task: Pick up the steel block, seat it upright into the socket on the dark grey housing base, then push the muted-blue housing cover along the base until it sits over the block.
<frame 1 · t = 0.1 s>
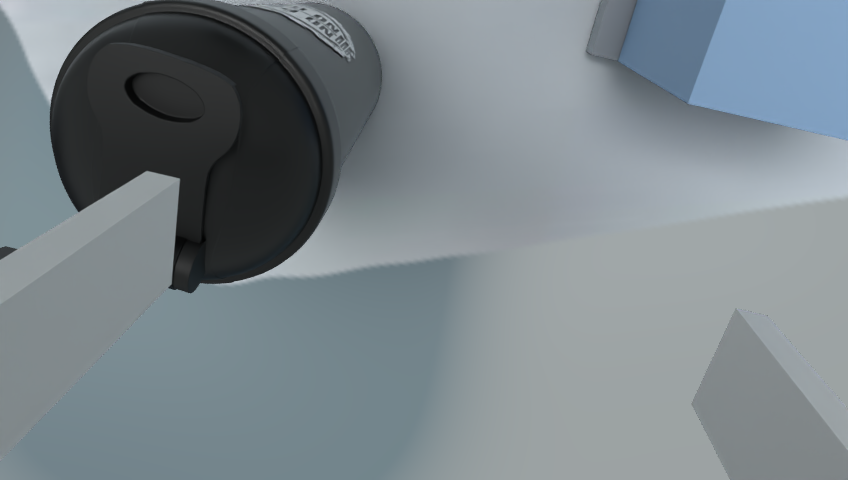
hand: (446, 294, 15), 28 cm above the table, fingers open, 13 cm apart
housing cover: (796, 7, 30), point 9 cm above the table, slide at 0.0 cm
water bottle: (315, 73, 41), on the table
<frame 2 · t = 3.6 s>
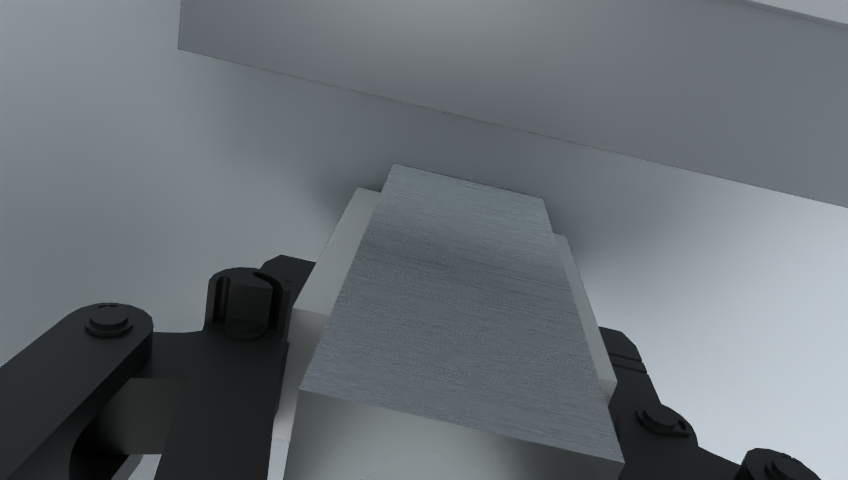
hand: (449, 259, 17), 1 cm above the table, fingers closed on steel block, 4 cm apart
steel block: (450, 249, 18), on the table, touching gripper
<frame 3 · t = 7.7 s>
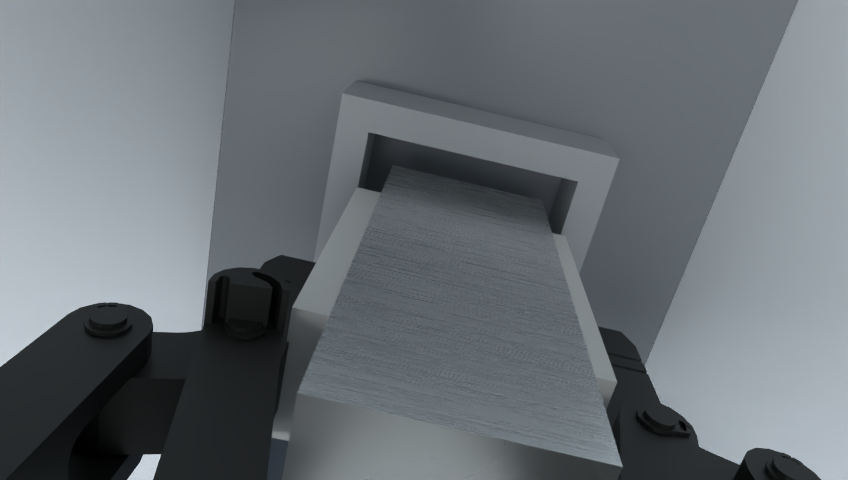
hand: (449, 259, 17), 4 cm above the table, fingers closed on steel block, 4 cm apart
housing base: (445, 231, 22), on the table
steel block: (449, 251, 18), point 4 cm above the table, touching gripper
when the fingers open (4 cm above the table, at t = 9.2 s): steel block drops 2 cm, resting on housing base.
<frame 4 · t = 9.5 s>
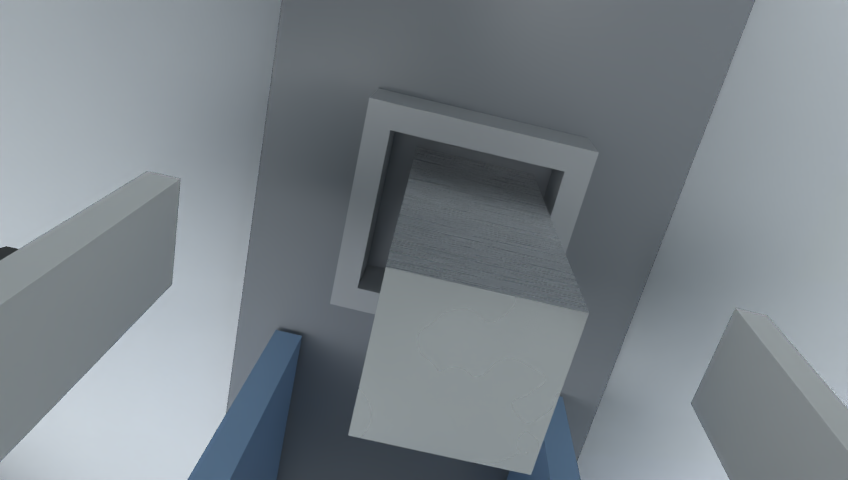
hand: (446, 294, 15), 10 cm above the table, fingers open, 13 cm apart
housing base: (453, 220, 25), on the table
steel block: (460, 216, 23), point 2 cm above the table, touching housing base
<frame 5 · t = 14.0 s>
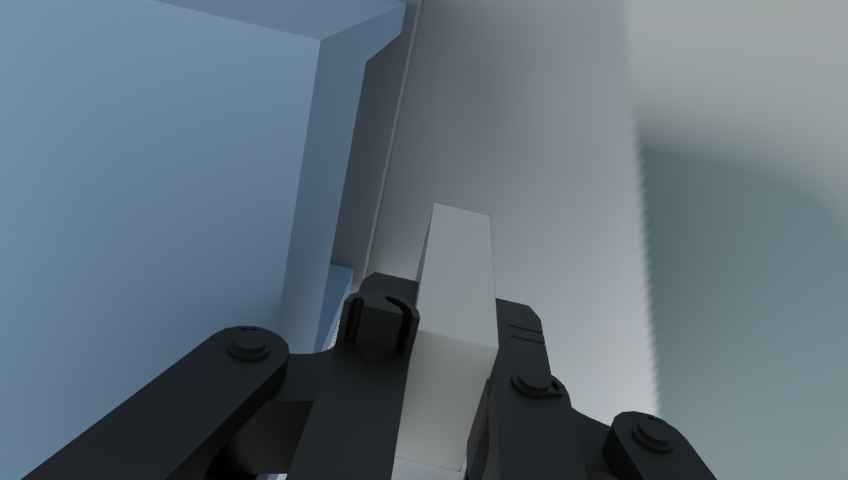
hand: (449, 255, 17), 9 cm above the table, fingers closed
housing base: (43, 64, 26), on the table
housing cover: (178, 186, 18), point 9 cm above the table, slide at 0.4 cm, touching gripper
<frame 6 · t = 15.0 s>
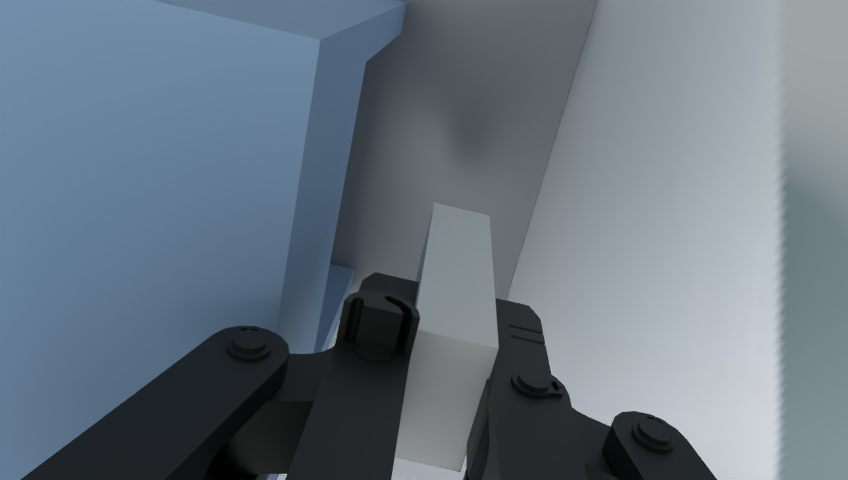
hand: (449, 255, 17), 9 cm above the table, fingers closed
housing base: (187, 98, 26), on the table
housing cover: (178, 186, 18), point 9 cm above the table, slide at 6.1 cm, touching gripper
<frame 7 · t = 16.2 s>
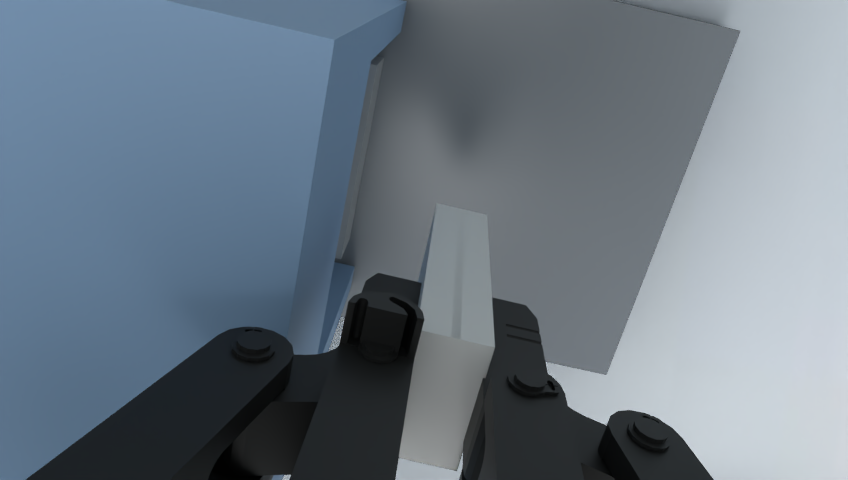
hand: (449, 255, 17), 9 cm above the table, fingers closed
housing base: (311, 126, 26), on the table
housing cover: (183, 184, 18), point 9 cm above the table, slide at 11.1 cm, touching gripper
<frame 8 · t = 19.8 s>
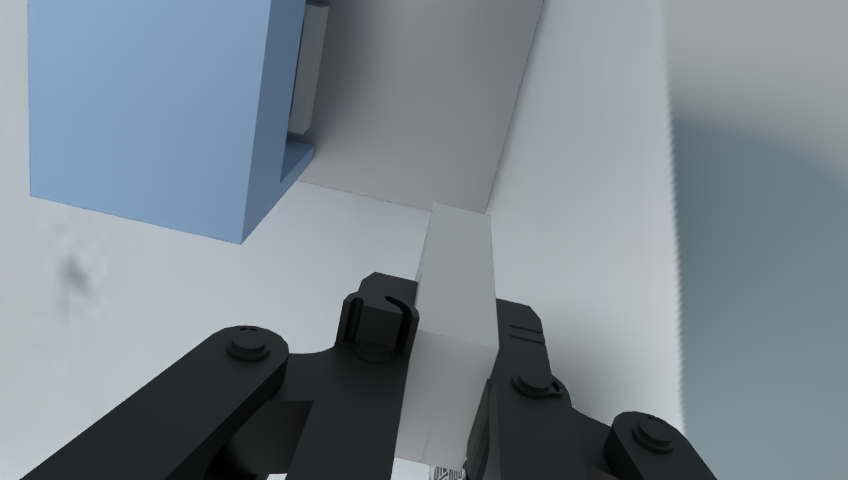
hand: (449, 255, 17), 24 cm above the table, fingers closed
housing base: (286, 54, 40), on the table
housing cover: (206, 68, 32), point 9 cm above the table, slide at 11.0 cm
water bottle: (493, 422, 49), on the table
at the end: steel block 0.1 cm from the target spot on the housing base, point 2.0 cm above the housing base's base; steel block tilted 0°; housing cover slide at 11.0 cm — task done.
